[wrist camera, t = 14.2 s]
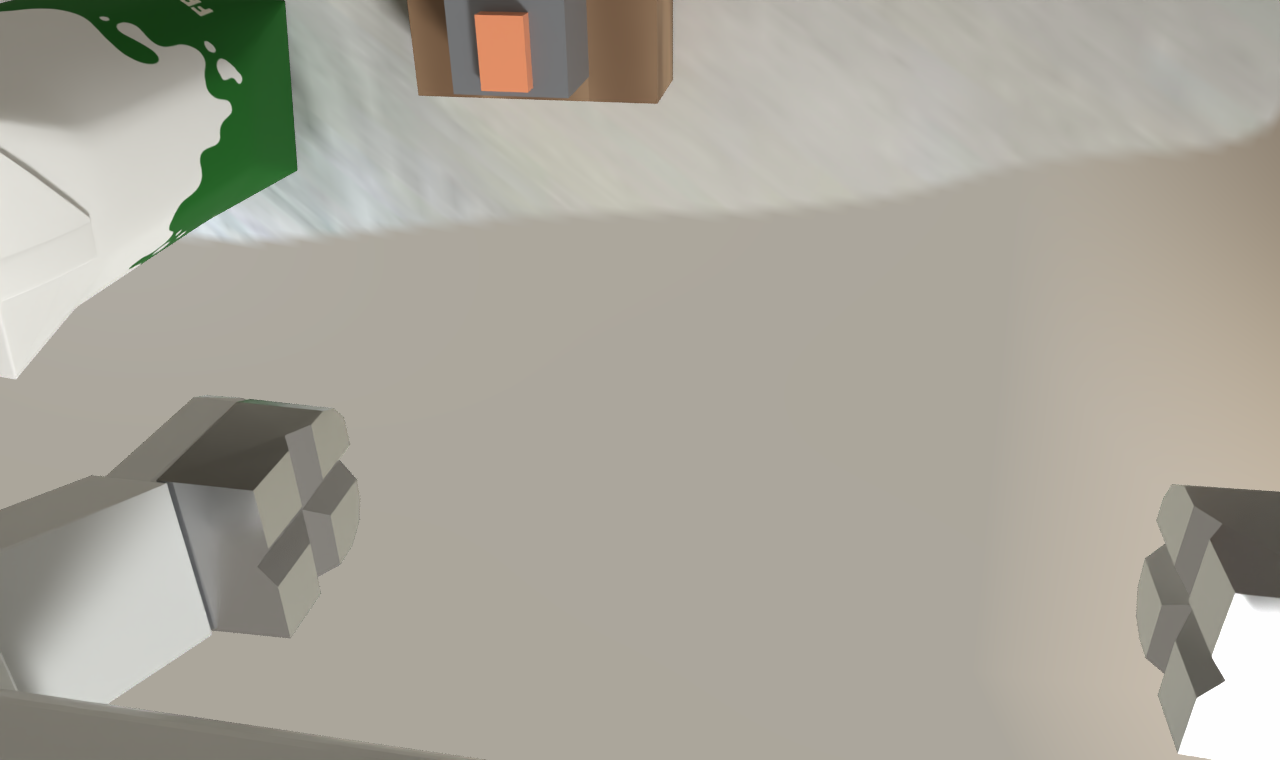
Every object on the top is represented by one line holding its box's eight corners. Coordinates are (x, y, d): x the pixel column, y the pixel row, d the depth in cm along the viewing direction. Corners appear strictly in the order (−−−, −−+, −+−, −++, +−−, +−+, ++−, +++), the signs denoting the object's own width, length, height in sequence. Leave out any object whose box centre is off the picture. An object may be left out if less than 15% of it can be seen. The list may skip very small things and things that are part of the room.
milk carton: (305, -21, 40) (-104, 119, 23) (319, 196, 45) (-13, 446, 28) (100, -52, 41) (-439, 61, 24) (134, 164, 46) (-297, 387, 29)
